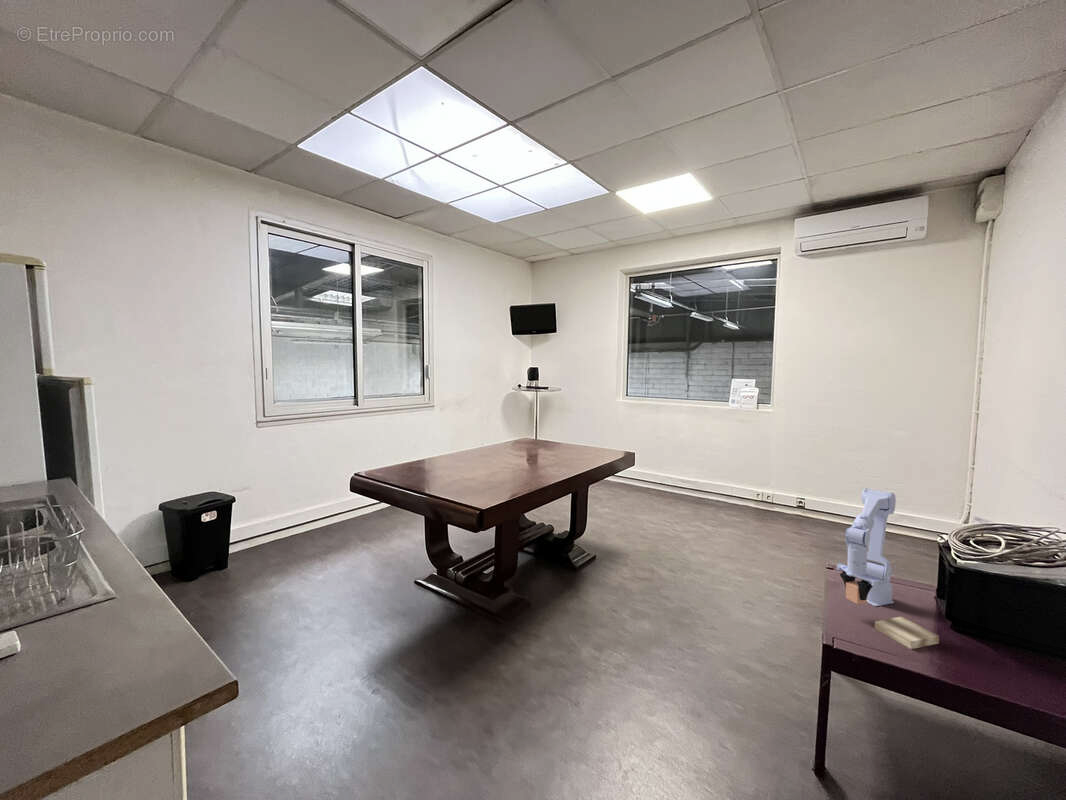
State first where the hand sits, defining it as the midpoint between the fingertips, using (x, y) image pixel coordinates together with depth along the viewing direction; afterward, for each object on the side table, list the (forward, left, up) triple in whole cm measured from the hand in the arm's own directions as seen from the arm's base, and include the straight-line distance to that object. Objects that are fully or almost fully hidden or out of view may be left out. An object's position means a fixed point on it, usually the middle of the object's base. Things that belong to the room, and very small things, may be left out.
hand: (856, 596), depth 160 cm
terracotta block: (0, 0, -2) cm, 2 cm away
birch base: (-6, +13, -9) cm, 17 cm away
